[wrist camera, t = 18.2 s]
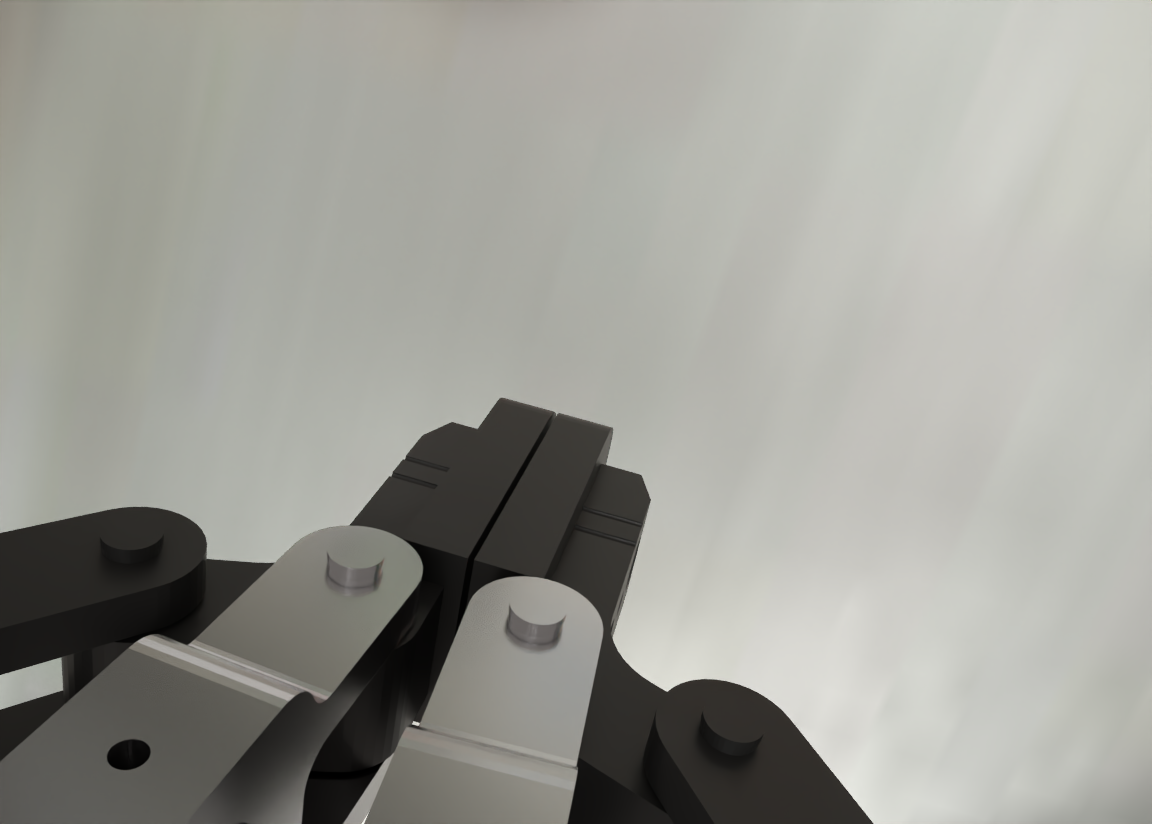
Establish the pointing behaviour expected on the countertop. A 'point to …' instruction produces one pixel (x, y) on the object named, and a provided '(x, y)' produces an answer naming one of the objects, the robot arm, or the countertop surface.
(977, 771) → the countertop surface
